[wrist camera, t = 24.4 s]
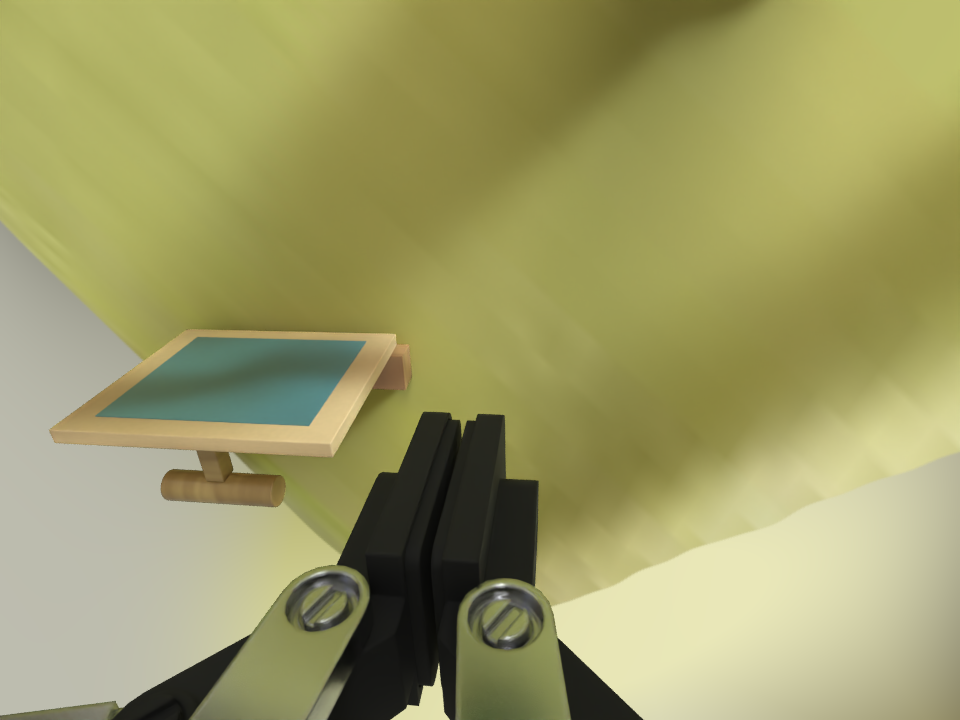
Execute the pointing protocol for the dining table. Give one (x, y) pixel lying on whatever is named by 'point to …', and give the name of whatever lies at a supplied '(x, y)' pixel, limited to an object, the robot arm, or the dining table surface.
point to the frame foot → (396, 370)
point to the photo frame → (235, 405)
